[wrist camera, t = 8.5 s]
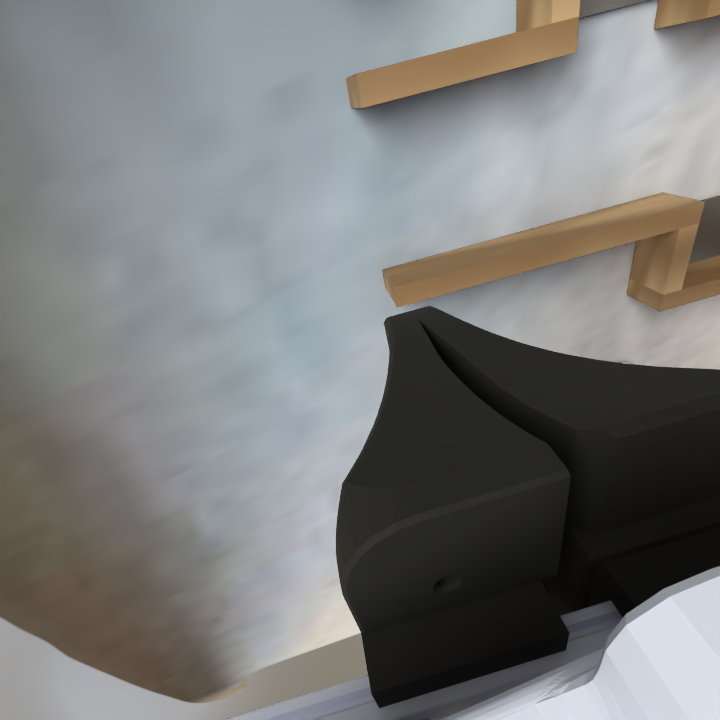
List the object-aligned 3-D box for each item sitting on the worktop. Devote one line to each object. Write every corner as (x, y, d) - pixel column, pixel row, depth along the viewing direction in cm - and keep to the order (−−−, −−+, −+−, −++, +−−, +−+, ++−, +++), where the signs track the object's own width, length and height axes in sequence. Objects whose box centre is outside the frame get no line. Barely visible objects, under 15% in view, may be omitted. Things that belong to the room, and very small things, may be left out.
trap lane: (830, 236, 24) (881, 248, 22) (399, 358, 23) (410, 382, 21) (1075, -296, 13) (1214, -365, 12) (309, -110, 13) (316, -151, 11)
